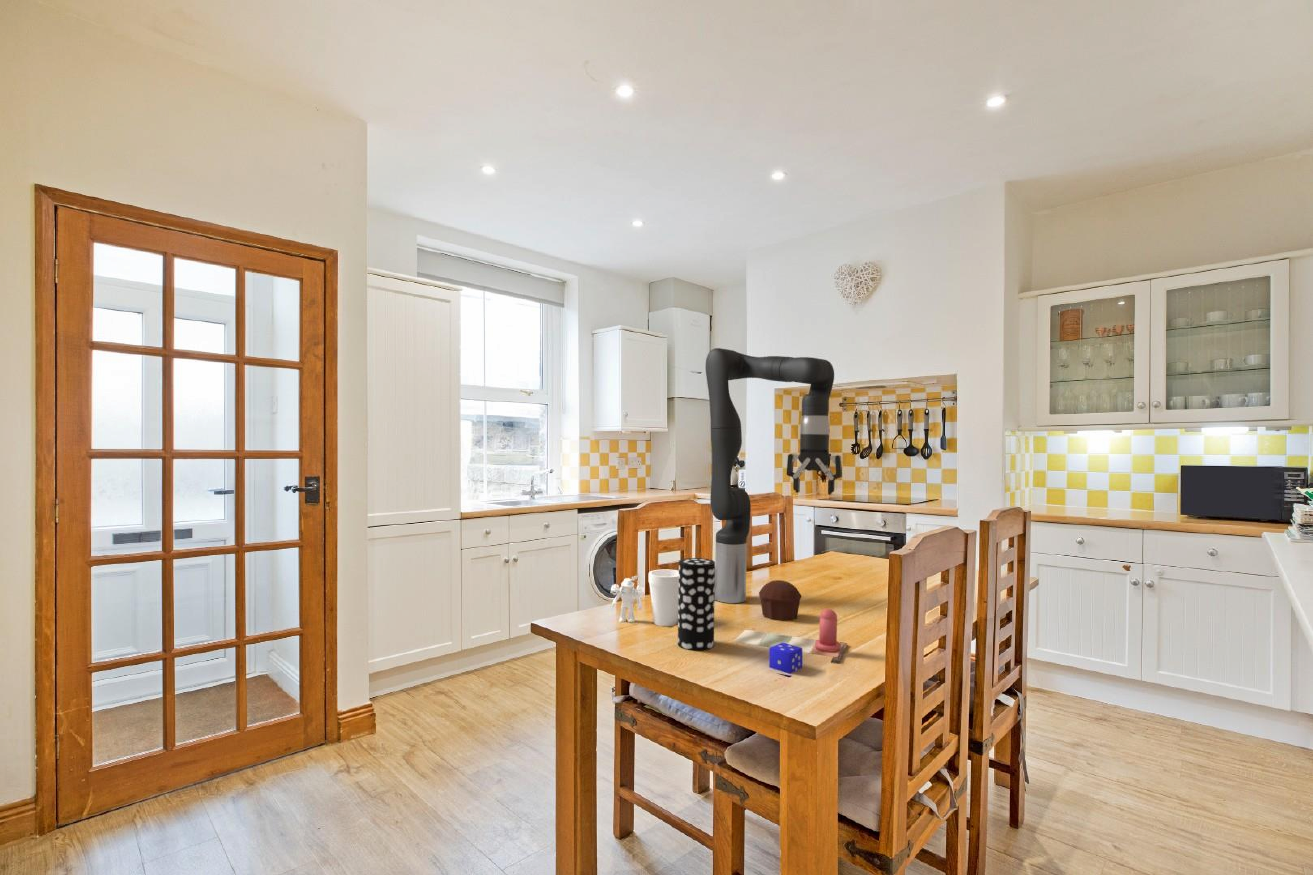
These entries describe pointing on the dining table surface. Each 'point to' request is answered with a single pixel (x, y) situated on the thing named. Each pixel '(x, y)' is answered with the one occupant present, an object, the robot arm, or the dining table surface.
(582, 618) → the dining table surface
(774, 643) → the game track
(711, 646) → the white-spotted black cylinder
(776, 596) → the muffin
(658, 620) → the foam cup
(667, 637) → the dining table surface
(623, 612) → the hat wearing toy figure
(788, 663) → the die
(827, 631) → the pawn
